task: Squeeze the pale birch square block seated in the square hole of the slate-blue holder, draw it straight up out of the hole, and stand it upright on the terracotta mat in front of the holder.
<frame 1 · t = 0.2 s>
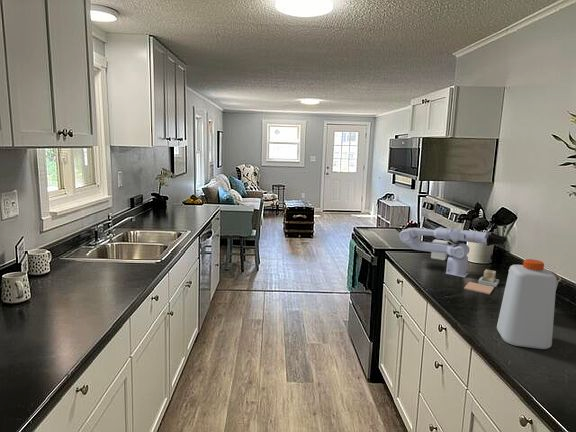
hand: (505, 240, 201), 21 cm above the worktop, tool horizontal, fingers open, 7 cm apart
birch block: (488, 283, 204), resting in holder
mat: (479, 288, 195), on the worktop
canister: (528, 313, 168), on the worktop
holder: (488, 282, 204), on the worktop
plastic bottle: (522, 339, 145), on the worktop
small box: (438, 258, 245), on the worktop
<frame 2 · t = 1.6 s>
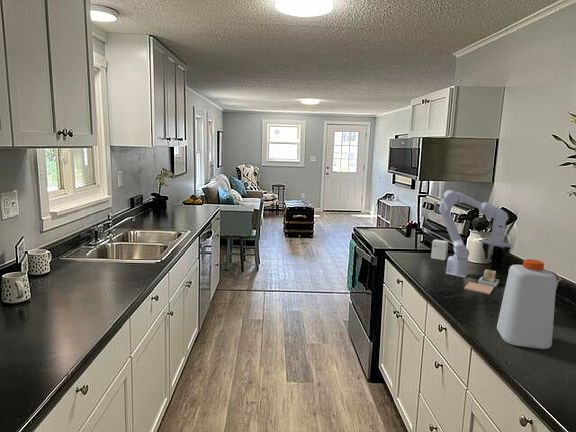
hand: (494, 260, 210), 9 cm above the worktop, tool pointing down, fingers open, 7 cm apart
nothing on the worktop moved.
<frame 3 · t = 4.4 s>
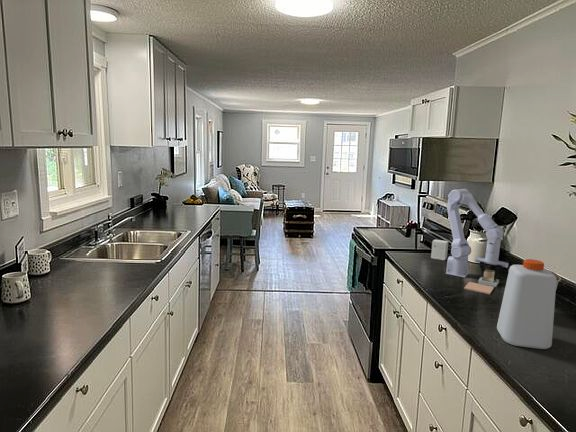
hand: (489, 278, 203), 2 cm above the worktop, tool pointing down, fingers closed on birch block, 4 cm apart
birch block: (488, 283, 204), resting in holder, touching gripper
everything else where it was.
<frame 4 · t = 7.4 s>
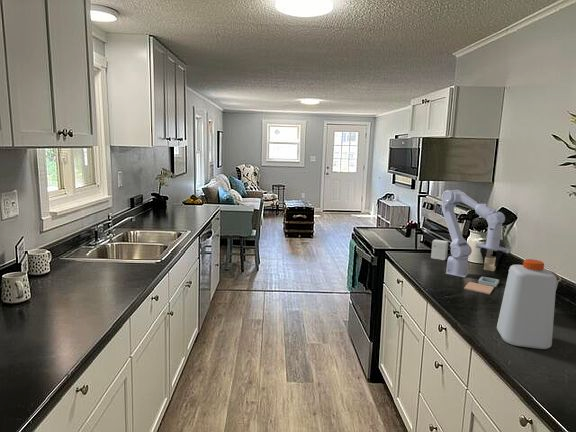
hand: (490, 264, 201), 9 cm above the worktop, tool pointing down, fingers closed on birch block, 4 cm apart
birch block: (489, 269, 202), point 7 cm above the worktop, touching gripper
everything else where it was.
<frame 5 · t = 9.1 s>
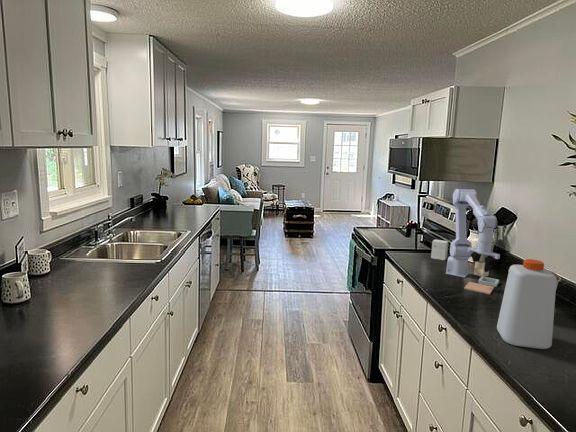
hand: (481, 270, 194), 9 cm above the worktop, tool pointing down, fingers closed on birch block, 4 cm apart
birch block: (480, 274, 194), point 7 cm above the worktop, touching gripper
everything else where it was.
when the fingers open (4 cm above the worktop, at t = 10.3 s): birch block drops 1 cm, resting on mat.
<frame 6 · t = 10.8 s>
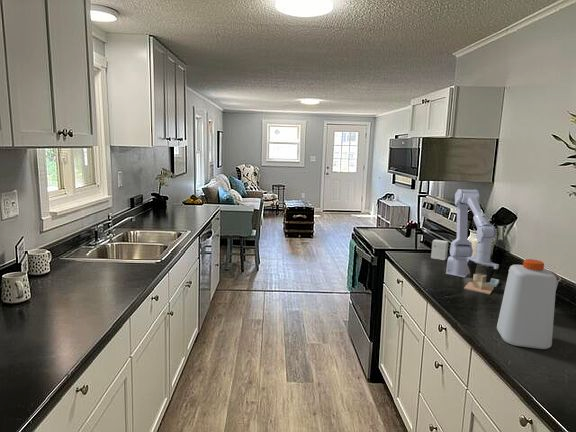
hand: (480, 279, 194), 4 cm above the worktop, tool pointing down, fingers open, 7 cm apart
birch block: (479, 287, 195), point 1 cm above the worktop, touching mat
everything else where it was.
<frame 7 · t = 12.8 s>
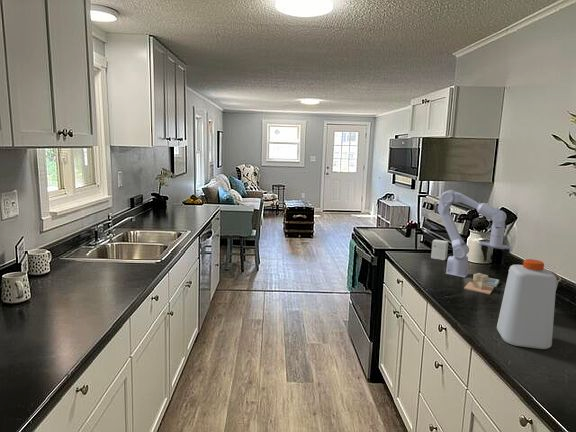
hand: (493, 262, 206), 9 cm above the worktop, tool pointing down, fingers open, 7 cm apart
nothing on the worktop moved.
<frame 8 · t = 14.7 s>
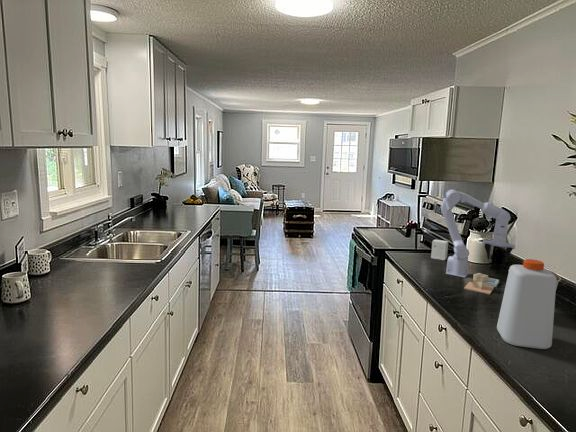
hand: (496, 260, 210), 9 cm above the worktop, tool pointing down, fingers open, 7 cm apart
nothing on the worktop moved.
at the end: birch block inside the target area on the mat (0.1 cm from its centre), point 0.6 cm above the mat's base; birch block tilted 0°; the gripper is holding nothing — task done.
